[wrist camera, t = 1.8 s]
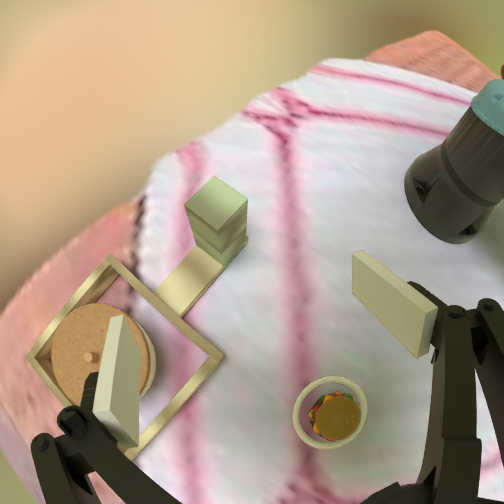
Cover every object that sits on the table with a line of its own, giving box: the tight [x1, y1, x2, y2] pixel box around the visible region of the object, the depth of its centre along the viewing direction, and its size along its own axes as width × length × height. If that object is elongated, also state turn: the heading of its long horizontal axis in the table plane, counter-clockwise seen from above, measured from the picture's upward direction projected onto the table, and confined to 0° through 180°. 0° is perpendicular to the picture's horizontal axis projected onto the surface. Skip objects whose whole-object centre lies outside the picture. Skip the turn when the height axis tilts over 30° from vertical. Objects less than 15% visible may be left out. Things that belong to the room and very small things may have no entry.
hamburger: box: [292, 376, 368, 449], centre depth 30 cm, size 12×12×6 cm
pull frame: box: [26, 176, 248, 461], centre depth 29 cm, size 29×17×11 cm, turn 142°
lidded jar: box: [51, 303, 156, 407], centre depth 28 cm, size 11×11×9 cm
